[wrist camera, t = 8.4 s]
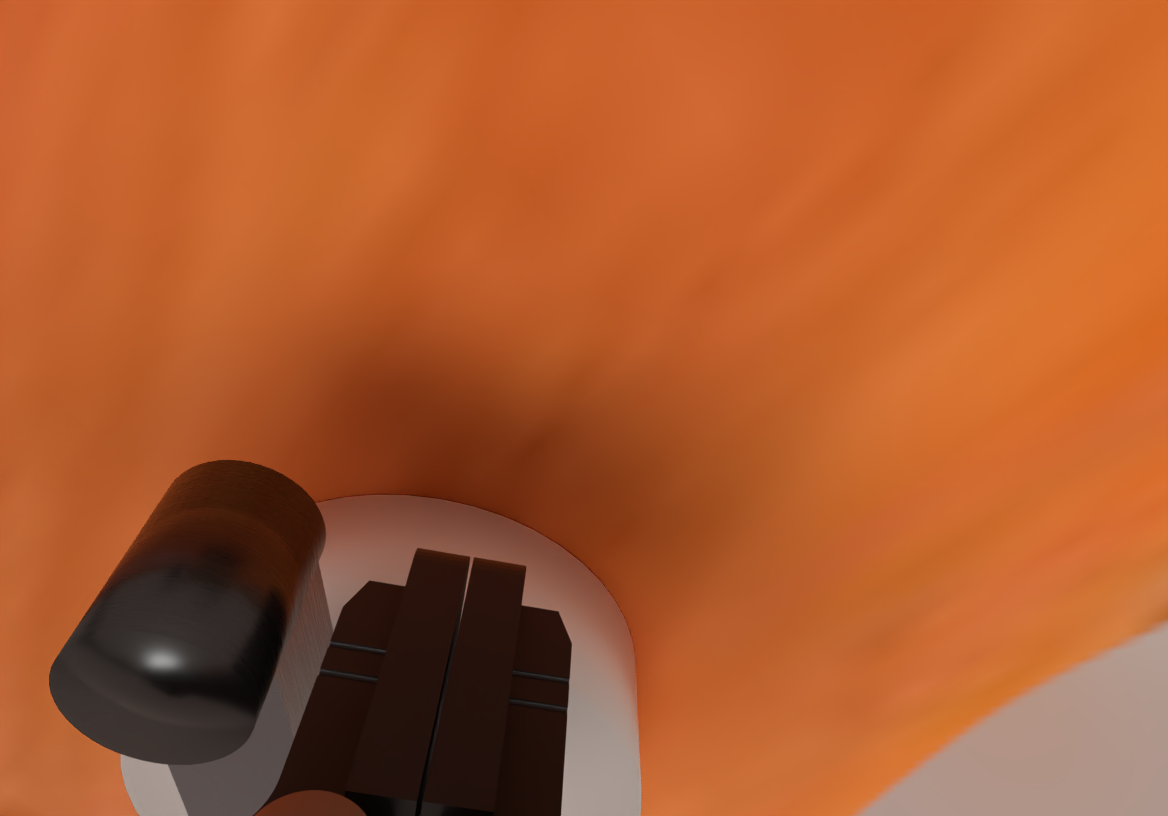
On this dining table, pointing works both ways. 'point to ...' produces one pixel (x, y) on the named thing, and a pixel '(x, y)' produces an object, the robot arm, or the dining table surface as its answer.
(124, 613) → the capstan lever
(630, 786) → the stand
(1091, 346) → the dining table surface
